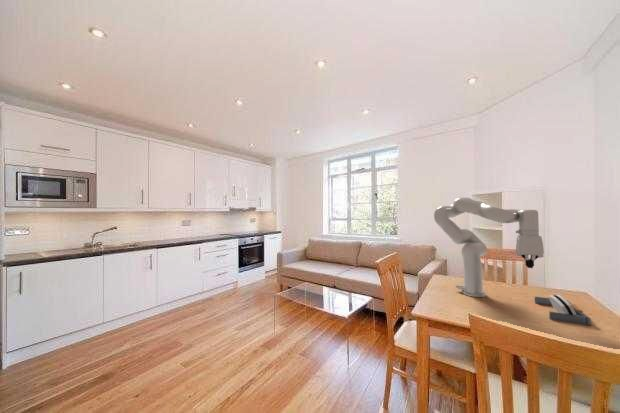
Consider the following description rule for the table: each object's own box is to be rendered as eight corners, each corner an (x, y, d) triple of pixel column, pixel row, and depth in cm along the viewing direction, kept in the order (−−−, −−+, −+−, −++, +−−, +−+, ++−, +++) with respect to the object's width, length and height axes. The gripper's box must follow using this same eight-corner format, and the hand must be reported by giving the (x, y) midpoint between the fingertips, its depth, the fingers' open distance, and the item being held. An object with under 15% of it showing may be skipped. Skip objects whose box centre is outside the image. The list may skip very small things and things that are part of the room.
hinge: (585, 324, 106) (574, 302, 108) (571, 325, 108) (560, 304, 110) (566, 309, 121) (556, 290, 122) (554, 310, 123) (545, 292, 124)
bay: (550, 319, 110) (550, 311, 110) (534, 302, 130) (534, 295, 130) (591, 326, 104) (591, 317, 104) (567, 306, 123) (567, 299, 123)
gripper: (512, 233, 123) (513, 267, 123) (551, 234, 115) (552, 271, 116) (508, 231, 129) (509, 264, 129) (545, 232, 122) (546, 267, 122)
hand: (529, 267), depth 123 cm, fingers closed
